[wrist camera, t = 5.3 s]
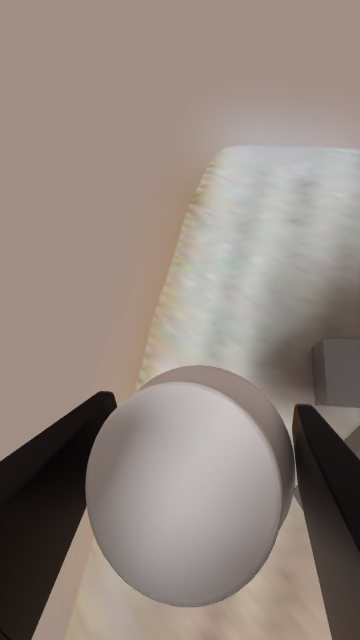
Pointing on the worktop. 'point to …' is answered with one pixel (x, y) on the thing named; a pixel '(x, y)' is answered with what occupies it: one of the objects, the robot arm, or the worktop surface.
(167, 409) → the supplement bottle
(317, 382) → the v block
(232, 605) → the worktop surface
